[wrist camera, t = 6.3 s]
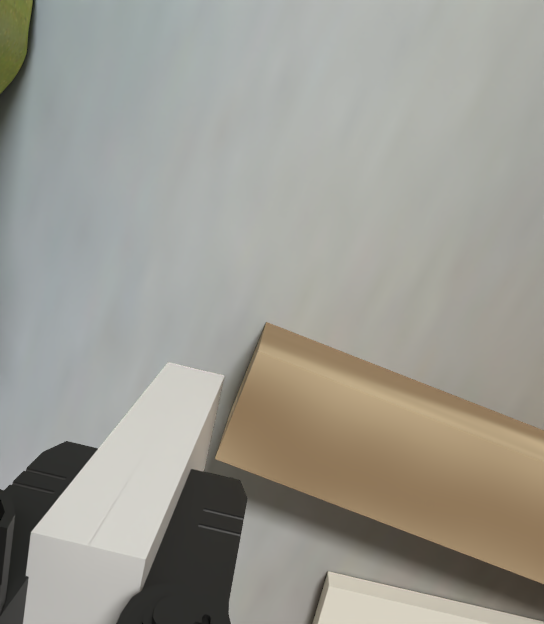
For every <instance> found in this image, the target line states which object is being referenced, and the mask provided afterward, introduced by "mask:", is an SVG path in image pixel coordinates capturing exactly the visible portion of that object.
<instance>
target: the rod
mask: <svg viewBox="0 0 544 624" xmlns="http://www.w3.org/2000/svg"><path fill="white" fill-rule="evenodd" d="M215 459H217V460H219V461H222V462H224V463H227V464H230V465H232V466H235V467H238V468H240V469H243V470H245V471H248V472H251V473H253V474H256V475H259V476H261V477H264V478H266V479H269V480H272V481H274V482H277V483H280V484H282V485H285V486H287V487H290V488H293V489H295V490H298V491H301V492H303V493H306V494H308V495H311V496H314V497H316V498H319V499H322V500H324V501H327V502H329V503H332V504H335V505H337V506H340V507H343V508H345V509H348V510H350V511H353V512H356V513H358V514H361V515H364V516H366V517H369V518H371V519H374V520H377V521H379V522H382V523H384V524H387V525H390V526H392V527H395V528H398V529H400V530H403V531H405V532H408V533H411V534H413V535H416V536H419V537H421V538H424V539H426V540H429V541H432V542H434V543H437V544H440V545H442V546H445V547H447V548H450V549H453V550H455V551H458V552H461V553H463V554H466V555H468V556H471V557H474V558H476V559H479V560H482V561H484V562H487V563H489V564H492V565H495V566H497V567H500V568H503V569H505V570H508V571H510V572H513V573H516V574H518V575H521V576H524V577H526V578H529V579H531V580H534V581H537V582H539V583H542V584H544V430H541V429H538V428H536V427H533V426H531V425H528V424H526V423H523V422H521V421H518V420H515V419H513V418H510V417H508V416H505V415H503V414H500V413H498V412H495V411H492V410H490V409H487V408H485V407H482V406H480V405H477V404H475V403H472V402H469V401H467V400H464V399H462V398H459V397H457V396H454V395H452V394H449V393H446V392H444V391H441V390H439V389H436V388H434V387H431V386H428V385H426V384H423V383H421V382H418V381H416V380H413V379H411V378H408V377H405V376H403V375H400V374H398V373H395V372H393V371H390V370H388V369H385V368H382V367H380V366H377V365H375V364H372V363H370V362H367V361H365V360H362V359H359V358H357V357H354V356H352V355H349V354H347V353H344V352H342V351H339V350H336V349H334V348H331V347H329V346H326V345H324V344H321V343H319V342H316V341H313V340H311V339H308V338H306V337H303V336H301V335H298V334H296V333H293V332H290V331H288V330H285V329H283V328H280V327H278V326H275V325H273V324H270V323H267V322H266V324H265V327H264V329H263V332H262V334H261V337H260V339H259V342H258V344H257V347H256V349H255V352H254V354H253V357H252V359H251V362H250V364H249V367H248V369H247V372H246V374H245V377H244V379H243V382H242V384H241V387H240V389H239V392H238V394H237V397H236V399H235V402H234V404H233V407H232V409H231V412H230V415H229V418H228V421H227V424H226V427H225V430H224V433H223V436H222V439H221V442H220V445H219V448H218V451H217V454H216V457H215Z"/></svg>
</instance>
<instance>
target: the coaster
mask: <svg viewBox="0 0 544 624" xmlns="http://www.w3.org/2000/svg"><path fill="white" fill-rule="evenodd" d="M313 624H544V622H543V621H539V620H534V619H530V618H526V617H521V616H517V615H513V614H509V613H504V612H500V611H496V610H491V609H487V608H483V607H479V606H474V605H470V604H466V603H461V602H457V601H453V600H449V599H444V598H440V597H436V596H431V595H427V594H423V593H419V592H414V591H410V590H406V589H401V588H397V587H393V586H389V585H384V584H380V583H376V582H371V581H367V580H363V579H359V578H354V577H350V576H346V575H341V574H337V573H333V572H329V571H328V573H327V576H326V580H325V583H324V587H323V590H322V593H321V597H320V600H319V603H318V607H317V610H316V614H315V617H314V620H313Z"/></svg>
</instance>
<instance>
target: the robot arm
mask: <svg viewBox="0 0 544 624" xmlns="http://www.w3.org/2000/svg"><path fill="white" fill-rule="evenodd" d="M224 377H225V375H220V374H216V373H212V372H208V371H203V370H199V369H195V368H191V367H186V366H182V365H178V364H174V363H169V362H168V363H167V364H166V365H165V367H164V368H163V369H162V370H161V372H160V373H159V374H158V375H157V377H156V378H155V379H154V380H153V382H152V383H151V384H150V385H149V386H148V388H147V389H146V390H145V391H144V393H143V394H142V395H141V396H140V398H139V399H138V400H137V401H136V403H135V404H134V405H133V406H132V408H131V409H130V410H129V411H128V413H127V414H126V415H125V416H124V417H123V419H122V420H121V421H120V422H119V424H118V425H117V426H116V427H115V429H114V430H113V431H112V432H111V434H110V435H109V436H108V437H107V439H106V440H105V441H104V442H103V444H102V445H101V446H100V447H99V448H93V447H89V446H85V445H81V444H76V443H72V442H68V441H66V442H64V443H61V444H59V445H57V446H55V447H53V448H51V449H48V450H46V451H44V452H42V453H41V454H40V455H39V456H38V457H37V458H36V459H35V460H34V461H33V462H32V463H31V464H30V465H29V466H28V467H27V469H26V471H23V472H22V473H21V474H20V475H19V476H18V477H17V478H16V479H15V480H14V481H13V484H12V485H9V486H8V487H7V488H6V489H5V490H4V491H3V490H1V489H0V624H231V622H230V618H229V614H228V610H229V598H230V592H231V586H232V581H233V575H234V570H235V564H236V559H237V553H238V548H239V542H240V536H241V531H242V526H243V519H244V514H245V509H246V503H247V496H246V494H245V491H244V489H243V486H242V484H241V482H240V480H237V479H232V478H228V477H224V476H220V475H216V474H211V473H207V472H204V469H205V465H206V460H207V455H208V451H209V446H210V441H211V437H212V432H213V428H214V423H215V418H216V414H217V409H218V404H219V400H220V395H221V391H222V386H223V381H224Z"/></svg>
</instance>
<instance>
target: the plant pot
mask: <svg viewBox="0 0 544 624" xmlns="http://www.w3.org/2000/svg"><path fill="white" fill-rule="evenodd" d="M32 3H33V0H0V94H1V93H2V92H3V91H4V89H5V88H6V87H7V86H8V85H9V84H10V83H11V82H12V80H13V79H14V77H15V76H16V75H17V73H18V71H19V69H20V68H21V66H22V64H23V61H24V59H25V56H26V53H27V42H28V30H29V23H30V17H31V11H32Z"/></svg>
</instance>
